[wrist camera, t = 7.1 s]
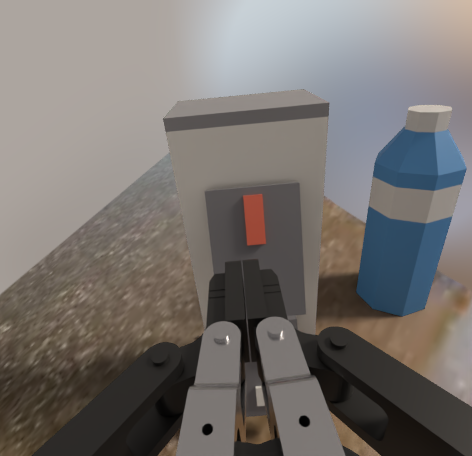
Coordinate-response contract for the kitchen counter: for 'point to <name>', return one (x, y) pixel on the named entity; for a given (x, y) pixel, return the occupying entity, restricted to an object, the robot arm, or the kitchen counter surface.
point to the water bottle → (410, 212)
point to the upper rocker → (260, 234)
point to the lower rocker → (257, 382)
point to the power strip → (250, 168)
